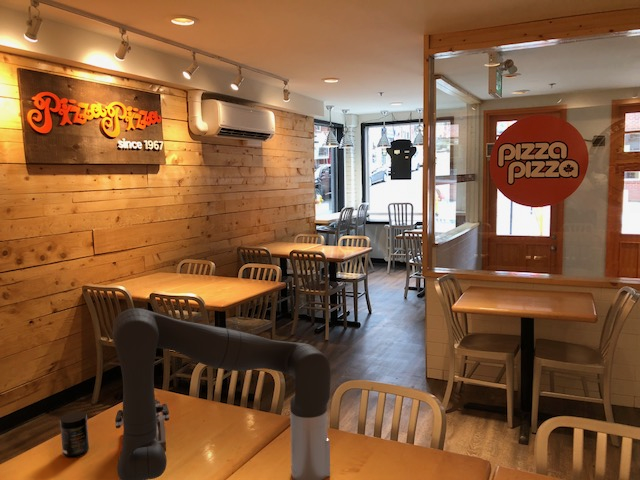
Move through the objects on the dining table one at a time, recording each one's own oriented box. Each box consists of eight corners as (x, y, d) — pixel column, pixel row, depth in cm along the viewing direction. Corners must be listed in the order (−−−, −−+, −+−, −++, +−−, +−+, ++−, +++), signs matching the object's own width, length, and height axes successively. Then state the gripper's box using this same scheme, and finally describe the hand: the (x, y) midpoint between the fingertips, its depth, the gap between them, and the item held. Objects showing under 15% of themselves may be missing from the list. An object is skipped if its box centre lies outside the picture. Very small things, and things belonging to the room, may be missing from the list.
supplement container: (94, 449, 146) (92, 414, 145) (73, 461, 140) (70, 424, 139) (79, 443, 149) (76, 409, 148) (57, 455, 143) (54, 419, 142)
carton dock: (164, 426, 159) (164, 418, 158) (166, 450, 145) (165, 441, 145) (124, 432, 155) (123, 424, 155) (122, 457, 142) (121, 449, 141)
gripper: (170, 412, 136) (168, 388, 152) (111, 421, 132) (115, 395, 147) (172, 439, 137) (169, 412, 153) (113, 449, 133) (116, 420, 148)
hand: (142, 404), depth 150 cm, fingers closed on coffee box, 6 cm apart
